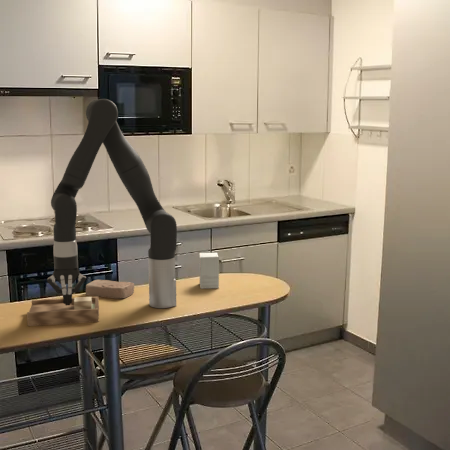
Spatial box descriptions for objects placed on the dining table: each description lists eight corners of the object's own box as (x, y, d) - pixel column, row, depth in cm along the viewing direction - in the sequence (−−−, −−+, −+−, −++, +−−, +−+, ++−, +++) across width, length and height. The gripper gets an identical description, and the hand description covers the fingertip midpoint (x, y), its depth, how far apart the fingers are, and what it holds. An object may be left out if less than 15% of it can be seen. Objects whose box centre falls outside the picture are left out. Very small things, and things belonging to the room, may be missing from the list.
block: (91, 304, 206) (91, 296, 205) (91, 308, 202) (91, 300, 201) (74, 305, 205) (74, 297, 204) (74, 309, 201) (73, 301, 200)
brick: (84, 295, 227) (84, 283, 226) (96, 289, 235) (96, 277, 234) (124, 300, 222) (123, 288, 221) (135, 294, 229) (135, 282, 228)
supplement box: (217, 283, 243) (218, 252, 240) (218, 288, 235) (219, 256, 233) (199, 283, 242) (199, 252, 240) (199, 288, 235) (199, 256, 233)
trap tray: (98, 308, 212) (98, 296, 211) (98, 321, 198) (98, 309, 197) (32, 312, 208) (31, 300, 207) (27, 326, 194) (26, 313, 193)
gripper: (86, 250, 204) (88, 300, 207) (45, 251, 201) (48, 302, 205) (86, 255, 197) (88, 307, 200) (43, 257, 194) (46, 309, 197)
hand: (67, 304), depth 202 cm, fingers closed
